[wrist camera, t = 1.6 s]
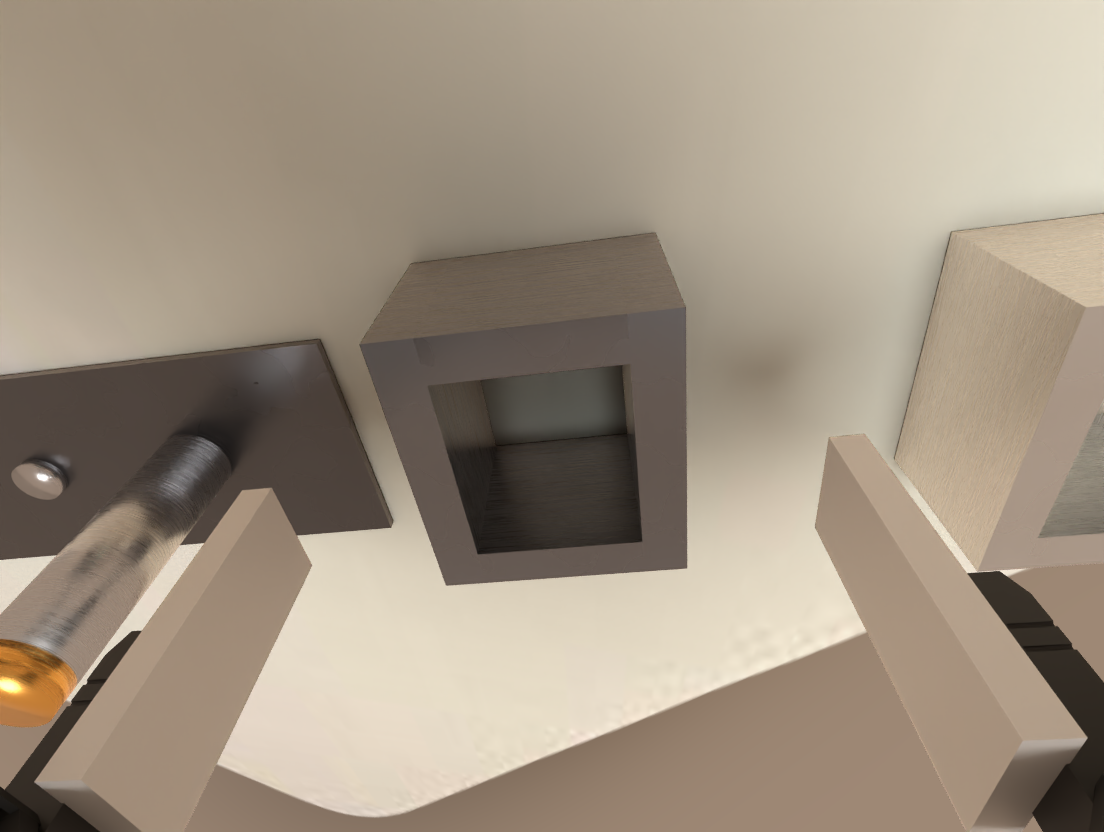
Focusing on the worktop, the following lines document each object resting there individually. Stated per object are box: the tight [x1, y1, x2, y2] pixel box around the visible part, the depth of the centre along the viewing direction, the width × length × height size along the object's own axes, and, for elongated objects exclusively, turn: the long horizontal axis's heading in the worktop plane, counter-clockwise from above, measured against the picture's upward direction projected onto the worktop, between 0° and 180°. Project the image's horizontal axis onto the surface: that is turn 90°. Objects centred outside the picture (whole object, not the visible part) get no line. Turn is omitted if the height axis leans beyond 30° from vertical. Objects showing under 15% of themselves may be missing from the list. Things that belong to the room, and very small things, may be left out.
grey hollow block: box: [359, 233, 687, 586], centre depth 17 cm, size 8×7×5 cm
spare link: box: [895, 214, 1104, 572], centre depth 16 cm, size 8×7×5 cm
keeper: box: [0, 339, 393, 727], centre depth 18 cm, size 8×20×9 cm, turn 98°
